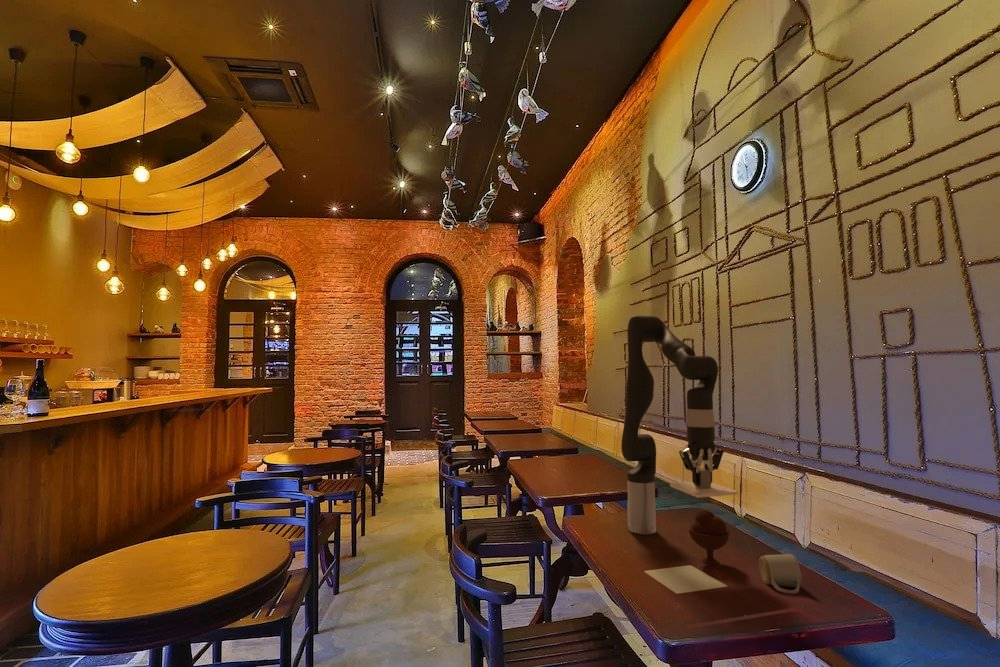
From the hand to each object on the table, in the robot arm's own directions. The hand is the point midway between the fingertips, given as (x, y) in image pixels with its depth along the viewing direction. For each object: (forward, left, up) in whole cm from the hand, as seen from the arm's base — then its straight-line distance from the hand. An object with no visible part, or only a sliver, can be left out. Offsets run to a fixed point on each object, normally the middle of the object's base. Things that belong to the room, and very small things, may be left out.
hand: (702, 484), depth 146 cm
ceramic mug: (+18, +9, -23) cm, 31 cm away
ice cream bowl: (-1, +2, -23) cm, 23 cm away
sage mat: (+7, -12, -23) cm, 27 cm away
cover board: (0, 0, -2) cm, 2 cm away
